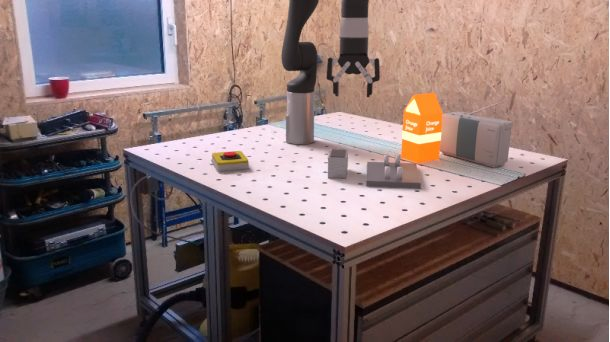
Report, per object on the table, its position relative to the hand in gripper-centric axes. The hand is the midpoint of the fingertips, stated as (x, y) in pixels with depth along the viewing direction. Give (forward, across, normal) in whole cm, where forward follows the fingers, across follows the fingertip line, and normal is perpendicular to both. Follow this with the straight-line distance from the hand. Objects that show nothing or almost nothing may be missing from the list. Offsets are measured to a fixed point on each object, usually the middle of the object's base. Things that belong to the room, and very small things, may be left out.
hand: (352, 96), depth 152 cm
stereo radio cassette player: (+22, +36, +19) cm, 46 cm away
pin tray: (+21, +12, -3) cm, 25 cm away
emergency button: (+22, -35, -1) cm, 42 cm away
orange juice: (+22, +20, +17) cm, 34 cm away
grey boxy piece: (+21, -3, -3) cm, 22 cm away
